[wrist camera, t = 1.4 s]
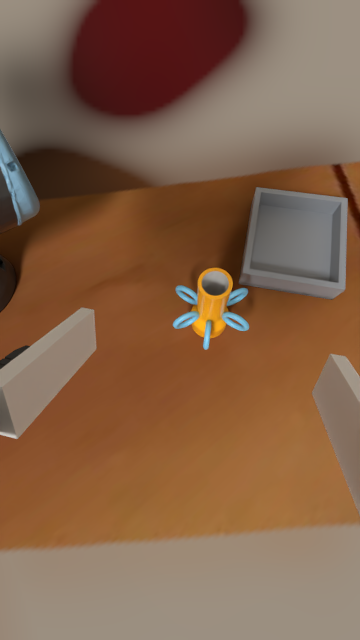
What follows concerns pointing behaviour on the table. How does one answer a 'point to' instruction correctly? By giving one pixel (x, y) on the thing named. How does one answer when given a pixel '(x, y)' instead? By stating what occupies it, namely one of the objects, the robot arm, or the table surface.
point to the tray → (296, 243)
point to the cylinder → (211, 305)
